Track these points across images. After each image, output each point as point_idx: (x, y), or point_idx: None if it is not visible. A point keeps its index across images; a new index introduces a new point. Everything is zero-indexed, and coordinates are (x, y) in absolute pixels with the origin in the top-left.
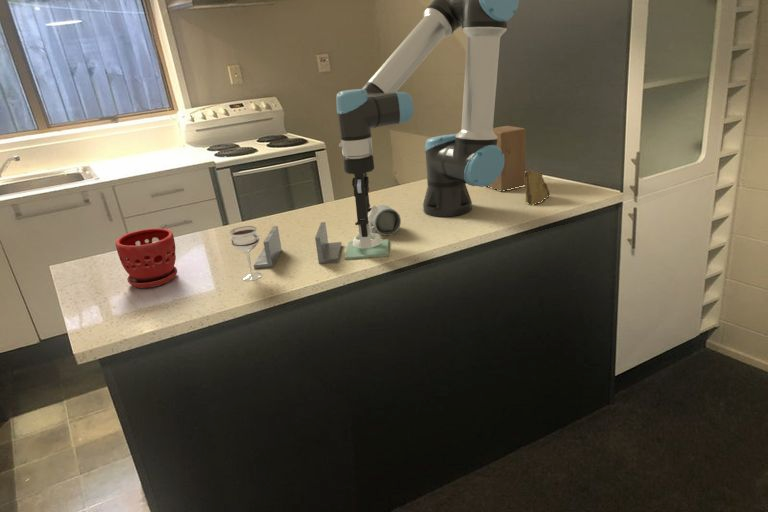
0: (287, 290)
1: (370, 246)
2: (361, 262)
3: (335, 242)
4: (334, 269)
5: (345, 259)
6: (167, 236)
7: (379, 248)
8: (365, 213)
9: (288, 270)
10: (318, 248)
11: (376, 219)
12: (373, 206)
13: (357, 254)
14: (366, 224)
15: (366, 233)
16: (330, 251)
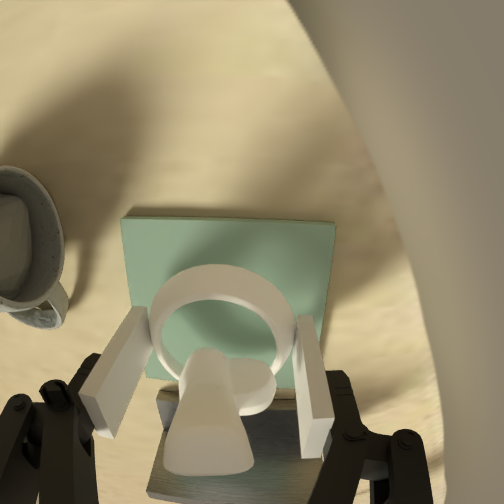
0: (438, 447)
1: (312, 323)
2: (360, 330)
3: (160, 413)
4: (380, 398)
5: None
6: None
7: (245, 265)
8: (427, 495)
9: None
10: None
11: (26, 303)
12: (189, 475)
13: None
14: (338, 425)
15: (349, 388)
16: (248, 427)
